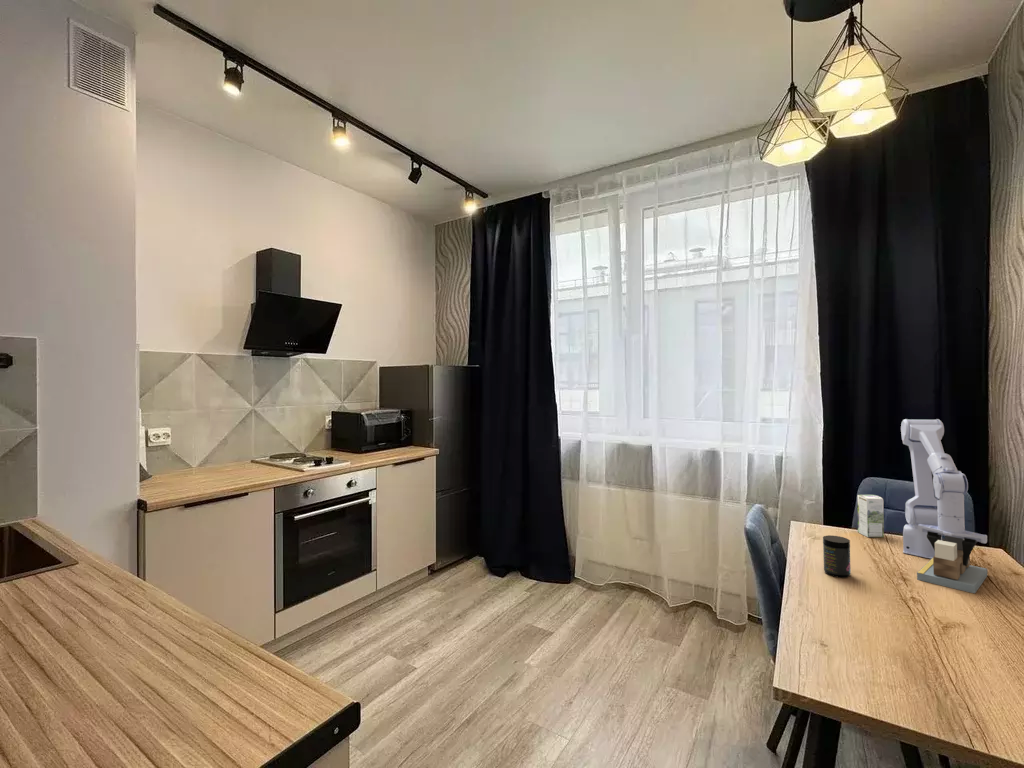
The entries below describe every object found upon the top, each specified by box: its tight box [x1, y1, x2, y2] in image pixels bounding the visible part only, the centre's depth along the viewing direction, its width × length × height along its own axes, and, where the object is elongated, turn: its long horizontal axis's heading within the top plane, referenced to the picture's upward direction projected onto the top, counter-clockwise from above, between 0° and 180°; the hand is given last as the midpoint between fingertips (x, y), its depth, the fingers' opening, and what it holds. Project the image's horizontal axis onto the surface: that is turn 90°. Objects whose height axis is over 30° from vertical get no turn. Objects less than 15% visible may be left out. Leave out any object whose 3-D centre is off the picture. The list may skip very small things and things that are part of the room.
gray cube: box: [944, 536, 964, 551], centre depth 140 cm, size 4×4×4 cm
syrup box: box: [857, 494, 885, 538], centre depth 175 cm, size 6×6×14 cm
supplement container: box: [822, 535, 852, 579], centre depth 142 cm, size 7×7×10 cm
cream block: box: [935, 539, 957, 561], centre depth 133 cm, size 4×4×4 cm
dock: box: [916, 558, 988, 594], centre depth 137 cm, size 12×18×2 cm, turn 127°
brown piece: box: [933, 550, 971, 580], centre depth 137 cm, size 5×16×5 cm, turn 127°
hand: (952, 561), depth 137 cm, fingers closed on brown piece, 5 cm apart
